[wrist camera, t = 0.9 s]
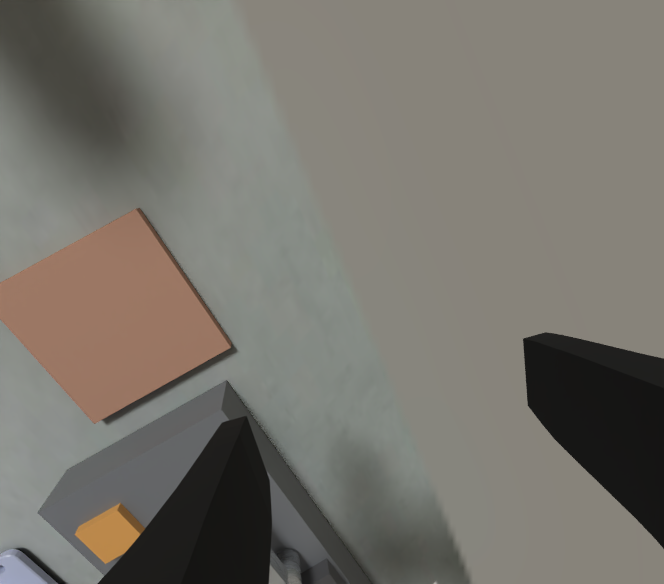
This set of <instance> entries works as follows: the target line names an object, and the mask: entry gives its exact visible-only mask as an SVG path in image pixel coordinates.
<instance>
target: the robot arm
mask: <svg viewBox="0 0 664 584" xmlns="http://www.w3.org/2000/svg"><path fill="white" fill-rule="evenodd" d="M523 343H524V356H525V371H526V384H527V385H526V386H527V400H528V406H529V408H530V409H531V410H532V411H533V413H534V414H535V415H536V417H537V418H538V419H539V420H540V422H541V423H542V424H543V426H544V427H545V428H546V429H547V430H548V432H549V433H550V434H551V435H552V436H553V438H554V439H555V440H556V441H557V442H558V443H559V444H560V445H561V446H562V447H563V448H564V449H565V450H566V451H567V452H568V453H569V454H570V455H571V456H572V457H573V458H574V459H575V460H576V461H577V462H578V463H579V464H580V465H581V466H582V467H583V468H584V469H586V471H587V472H588V473H590V474H591V475H592V476H593V477H594V478H595V479H596V480H597V481H598V482H599V483H600V484H601V485H602V486H603V487H604V488H605V489H606V490H607V491H608V492H609V493H610V494H611V495H612V496H613V497H614V498H615V499H616V500H617V501H618V502H620V503H621V505H623V506H624V507H625V508H626V509H627V510H628V511H629V512H630V513H631V514H632V515H633V516H634V517H635V518H636V519H637V520H638V521H639V522H640V523H641V524H642V525H643V526H644V528H645V529H647V531H648V532H649V533H650V534H652V536H653V537H654V538H655V539H656V540H657V541H658V542H659V544H660V545H661V546H662V547H663V548H664V359H662V358H658V357H654V356H649V355H645V354H640V353H636V352H632V351H627V350H624V349H619V348H615V347H611V346H607V345H603V344H599V343H594V342H590V341H586V340H582V339H577V338H573V337H568V336H564V335H558V334H553V333H542V334H538V335H535V336H531V337H528V338H524V339H523ZM271 536H272V509H271V492H270V480H269V477H268V474H267V471H266V468H265V466H264V463H263V460H262V457H261V454H260V452H259V449H258V446H257V443H256V440H255V438H254V435H253V432H252V429H251V426H250V424H249V421H248V418H247V416H243V417H240V418H236V419H233V420H229V421H225V422H222V423H221V425H220V426H219V427H218V429H217V430H216V432H215V433H214V434H213V436H212V437H211V439H210V440H209V442H208V443H207V445H206V446H205V448H204V449H203V451H202V452H201V454H200V455H199V457H198V458H197V459H196V461H195V462H194V464H193V465H192V467H191V468H190V469H189V471H188V472H187V474H186V475H185V477H184V478H183V479H182V481H181V482H180V484H179V485H178V486H177V488H176V489H175V491H174V492H173V493H172V494H171V496H170V497H169V498H168V500H167V501H166V502H165V504H164V505H163V506H162V507H161V509H160V510H159V511H158V513H157V514H156V515H155V517H154V518H153V519H152V520H151V522H150V523H149V524H148V526H147V527H146V528H145V530H144V531H143V532H142V533H141V534H140V536H139V537H138V538H137V539H136V541H135V542H134V543H133V544H132V545H131V546H130V548H129V549H128V550H127V551H126V552H125V553H124V555H123V556H122V557H121V558H120V559H119V560H118V561H117V563H116V564H115V565H114V566H113V567H112V568H111V569H110V570H109V572H108V573H107V574H106V575H105V576H104V577H103V578H102V579H101V580H100V582H99V583H98V584H269V572H270V554H271ZM0 584H58V583H57V582H56V581H55V580H53V579H52V578H51V577H50V576H49V575H48V574H47V573H45V572H44V571H43V570H42V569H41V568H40V567H39V566H37V565H36V564H35V563H34V562H33V561H32V560H31V559H29V558H28V557H27V556H26V555H25V554H24V553H23V552H21V551H20V550H16V549H10V550H7V551H5V552H3V553H1V554H0Z"/></svg>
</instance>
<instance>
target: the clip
mask: <svg viewBox="0 0 664 584" xmlns="http://www.w3.org/2000/svg"><path fill="white" fill-rule="evenodd" d="M269 584H302V579H301V569H300V559H299V555H298V553H297V552H295V551H293V550H290V549H285V550H281V551H278V552H277V553H274V552H273V551H272V550H271V554H270V572H269Z"/></svg>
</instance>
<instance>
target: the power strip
mask: <svg viewBox="0 0 664 584" xmlns="http://www.w3.org/2000/svg"><path fill="white" fill-rule="evenodd" d="M243 416H247V418H248V421H249V424H250V426H251V429H252V432H253V435H254V438H255V440H256V443H257V446H258V449H259V452H260V454H261V457H262V460H263V463H264V466H265V468H266V471H267V474H268V477H269V480H270V492H271V509H272V536H271V550H272V551H273V552H274V553H277V552H278V551H281V550H285V549H290V550H293V551H295V552H297V553H298V555H299V559H300V569H301V579H302V584H372V583H371V582H370V581H369V579H368V578H367V576H366V575H365V574H364V572H363V571H362V569H361V568H360V567H359V565H358V564H357V562H356V561H355V560H354V558H353V557H352V555H351V554H350V553H349V551H348V550H347V548H346V547H345V546H344V544H343V543H342V541H341V540H340V539H339V537H338V536H337V534H336V533H335V532H334V530H333V529H332V527H331V526H330V525H329V523H328V522H327V520H326V519H325V518H324V516H323V515H322V513H321V512H320V511H319V509H318V508H317V506H316V505H315V504H314V502H313V501H312V499H311V498H310V497H309V495H308V494H307V492H306V491H305V490H304V488H303V487H302V485H301V484H300V483H299V481H298V480H297V478H296V477H295V476H294V474H293V473H292V471H291V470H290V469H289V467H288V466H287V464H286V463H285V462H284V460H283V459H282V457H281V456H280V455H279V453H278V452H277V450H276V449H275V448H274V446H273V445H272V443H271V442H270V441H269V439H268V438H267V436H266V435H265V433H264V432H263V431H262V429H261V428H260V426H259V425H258V424H257V422H256V421H255V419H254V418H253V417H252V415H251V414H250V412H249V411H248V410H247V408H246V407H245V405H244V404H243V403H242V401H241V400H240V398H239V397H238V396H237V394H236V393H235V391H234V390H233V389H232V387H231V386H230V384H229V383H228V382H227V380H226V381H225V382H223V383H221V384H219V385H218V386H216V387H214V388H212V389H210V390H209V391H207V392H205V393H203V394H202V395H200V396H198V397H196V398H194V399H193V400H191V401H189V402H187V403H185V404H184V405H182V406H180V407H178V408H177V409H175V410H173V411H171V412H169V413H168V414H166V415H164V416H162V417H161V418H159V419H157V420H155V421H153V422H152V423H150V424H148V425H146V426H144V427H143V428H141V429H139V430H137V431H136V432H134V433H132V434H130V435H128V436H127V437H125V438H123V439H121V440H120V441H118V442H116V443H114V444H112V445H111V446H109V447H107V448H105V449H103V450H102V451H100V452H98V453H96V454H95V455H93V456H91V457H89V458H87V459H86V460H84V461H82V462H80V463H79V464H77V465H75V466H73V467H71V468H70V469H68V470H67V471H66V472H65V474H64V475H63V476H62V478H61V479H60V481H59V482H58V484H57V485H56V487H55V488H54V489H53V491H52V492H51V494H50V495H49V497H48V498H47V500H46V501H45V502H44V504H43V505H42V507H41V508H40V510H39V511H38V514H39V515H40V516H42V517H43V518H44V519H45V520H46V521H47V522H48V523H49V524H50V525H51V526H52V527H53V528H54V529H55V530H56V531H58V532H59V533H60V534H61V535H62V536H63V537H64V538H65V539H66V540H67V541H68V542H69V543H70V544H71V545H72V546H73V547H75V548H76V549H77V550H78V551H79V552H80V553H81V554H82V555H83V556H84V557H85V558H86V559H87V560H88V561H89V562H91V563H92V564H93V565H94V566H95V567H96V568H97V569H98V570H99V571H100V572H101V573H102V574H103V575H104V576H105V575H106V574H107V573H108V572H109V570H110V569H111V568H112V567H113V566H114V565H115V564H116V563H117V561H118V560H119V559H120V558H121V557H122V556H123V555H124V553H125V552H126V551H127V550H128V549H129V548H130V546H131V545H132V544H133V543H134V542H135V541H136V539H137V538H138V537H139V536H140V534H141V533H142V532H143V531H144V530H145V528H146V527H147V526H148V524H149V523H150V522H151V520H152V519H153V518H154V517H155V515H156V514H157V513H158V511H159V510H160V509H161V507H162V506H163V505H164V504H165V502H166V501H167V500H168V498H169V497H170V496H171V494H172V493H173V492H174V491H175V489H176V488H177V486H178V485H179V484H180V482H181V481H182V479H183V478H184V477H185V475H186V474H187V472H188V471H189V469H190V468H191V467H192V465H193V464H194V462H195V461H196V459H197V458H198V457H199V455H200V454H201V452H202V451H203V449H204V448H205V446H206V445H207V443H208V442H209V440H210V439H211V437H212V436H213V434H214V433H215V432H216V430H217V429H218V427H219V426H220V425H221V423H222V422H225V421H229V420H233V419H236V418H240V417H243Z"/></svg>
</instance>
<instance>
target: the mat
mask: <svg viewBox="0 0 664 584" xmlns="http://www.w3.org/2000/svg"><path fill="white" fill-rule="evenodd" d="M0 319H1V320H2V321H3V323H4V324H5V325H6V326H7V327H8V328H9V329H10V330H11V331H12V333H13V334H14V335H15V336H16V337H17V338H18V339H19V340H20V342H21V343H22V344H23V345H24V346H25V347H26V348H27V349H28V350H29V352H30V353H31V354H32V355H33V356H34V357H35V358H36V359H37V361H38V362H39V363H40V364H41V365H42V366H43V367H44V368H45V369H46V371H47V372H48V373H49V374H50V375H51V376H52V377H53V378H54V379H55V381H56V382H57V383H58V384H59V385H60V386H61V387H62V388H63V390H64V391H65V392H66V393H67V394H68V395H69V396H70V397H71V398H72V400H73V401H74V402H75V403H76V404H77V405H78V406H79V407H80V408H81V410H82V411H83V412H84V413H85V414H86V415H87V416H88V417H89V419H90V420H91V421H92V422H93V423H94V424H95V423H97V422H99V421H100V420H102V419H104V418H106V417H108V416H109V415H111V414H113V413H115V412H117V411H118V410H120V409H122V408H124V407H125V406H127V405H129V404H131V403H133V402H134V401H136V400H138V399H140V398H142V397H143V396H145V395H147V394H149V393H151V392H152V391H154V390H156V389H158V388H159V387H161V386H163V385H165V384H167V383H168V382H170V381H172V380H174V379H176V378H177V377H179V376H181V375H183V374H185V373H186V372H188V371H190V370H192V369H193V368H195V367H197V366H199V365H201V364H202V363H204V362H206V361H208V360H210V359H211V358H213V357H215V356H217V355H218V354H220V353H222V352H224V351H226V350H227V349H229V348H231V345H232V343H231V341H230V340H229V339H228V337H227V336H226V334H225V333H224V331H223V330H222V328H221V327H220V325H219V324H218V322H217V321H216V319H215V318H214V316H213V315H212V314H211V312H210V311H209V309H208V308H207V306H206V305H205V303H204V302H203V300H202V299H201V297H200V296H199V294H198V293H197V292H196V290H195V289H194V287H193V286H192V284H191V283H190V281H189V280H188V278H187V277H186V275H185V274H184V272H183V271H182V270H181V268H180V267H179V265H178V264H177V262H176V261H175V259H174V258H173V256H172V255H171V253H170V252H169V250H168V249H167V248H166V246H165V245H164V243H163V242H162V240H161V239H160V237H159V236H158V234H157V233H156V231H155V230H154V228H153V227H152V225H151V224H150V223H149V221H148V220H147V218H146V217H145V215H144V214H143V212H142V211H141V209H140V208H138V209H135V210H133V211H131V212H129V213H127V214H125V215H124V216H122V217H120V218H118V219H116V220H115V221H113V222H111V223H109V224H107V225H105V226H104V227H102V228H100V229H98V230H96V231H94V232H93V233H91V234H89V235H87V236H85V237H83V238H82V239H80V240H78V241H76V242H74V243H72V244H71V245H69V246H67V247H65V248H63V249H61V250H60V251H58V252H56V253H54V254H52V255H50V256H49V257H47V258H45V259H43V260H41V261H40V262H38V263H36V264H34V265H32V266H30V267H29V268H27V269H25V270H23V271H21V272H19V273H18V274H16V275H14V276H12V277H10V278H8V279H7V280H5V281H3V282H1V283H0Z"/></svg>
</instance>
